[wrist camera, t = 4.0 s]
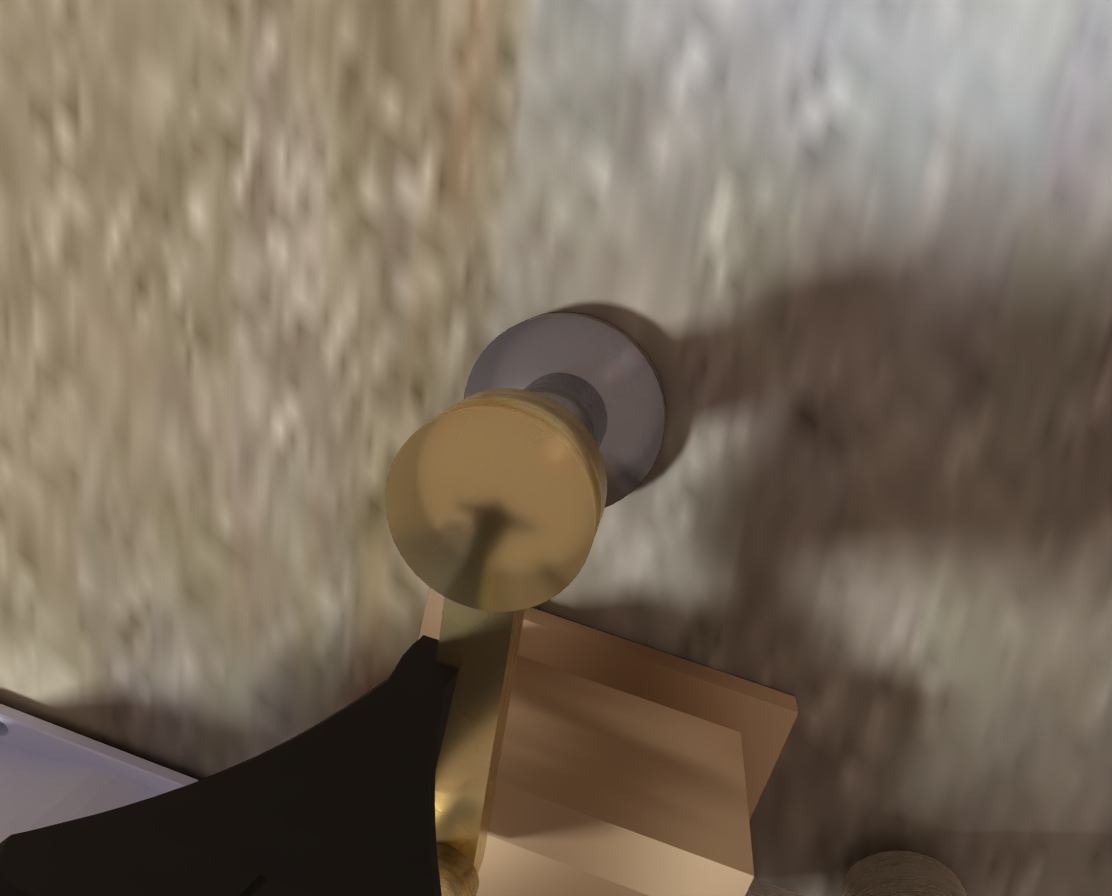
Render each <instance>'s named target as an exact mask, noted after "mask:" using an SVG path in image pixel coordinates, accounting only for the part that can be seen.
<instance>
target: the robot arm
mask: <svg viewBox="0 0 1112 896" xmlns="http://www.w3.org/2000/svg"><path fill="white" fill-rule="evenodd" d="M438 643H439V640H437V639H434V638H431V637H428V636H425V635H423V636H422V637H421V638H420V639H419V640H418V641H416V642H415V643H414V644H413V645H412V646H411V647H410V648H409V650H408V651H407V652H406V653H405V654H404V655H403V657H402V658H401V660H400V661H399V663H398V665H397V666H396V668H395V670H394V671H393V673H392V675H391V676H390V677H389V678H388V679H386V680H385V681H384V682H382V683H381V684H379V685H378V686H376V687H375V688H373V689H372V690H371V691H369V692H368V693H366V694H365V695H363V696H362V697H360V698H359V699H357V700H356V701H354V702H353V703H351V704H350V705H348V706H346V707H345V708H343V709H341V710H340V711H338V712H337V713H335V714H333V715H332V716H330V717H328V718H327V719H325V720H323V721H322V722H320V723H318V724H317V725H315V726H313V727H312V728H310V729H308V730H306V731H304V732H303V733H301V734H299V735H297V736H295V737H294V738H292V739H290V740H288V741H286V742H284V743H282V744H280V745H278V746H276V747H274V748H272V749H270V750H268V751H266V752H264V753H262V754H260V755H258V756H256V757H253V758H251V759H249V760H247V761H244V762H242V763H240V764H238V765H235V766H233V767H231V768H228V769H226V770H224V771H221V772H219V773H217V774H214V775H212V776H209V777H207V778H204V779H202V780H197V779H194V778H192V777H189V776H186V775H184V774H181V773H179V772H176V771H173V770H171V769H168V768H166V767H163V766H161V765H158V764H155V763H153V762H150V761H148V760H145V759H142V758H140V757H137V756H135V755H132V754H129V753H127V752H124V751H122V750H119V749H117V748H114V747H111V746H109V745H106V744H104V743H101V742H98V741H96V740H93V739H91V738H88V737H85V736H83V735H80V734H78V733H75V732H72V731H70V730H67V729H65V728H62V727H60V726H57V725H54V724H52V723H49V722H47V721H44V720H41V719H39V718H36V717H34V716H31V715H28V714H26V713H23V712H21V711H18V710H16V709H13V708H10V707H8V706H5V705H3V704H0V896H442V893H441V884H440V875H439V866H438V857H437V843H436V824H435V771H436V767H437V762H438V758H439V754H440V750H441V745H442V741H443V737H444V733H445V729H446V724H447V720H448V716H449V712H450V708H451V703H452V699H453V695H454V691H455V687H456V682H457V678H458V674H459V670H460V669H457V668H454V667H451V666H448V665H445V664H442V663H439V662H436V659H437V651H438Z"/></svg>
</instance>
